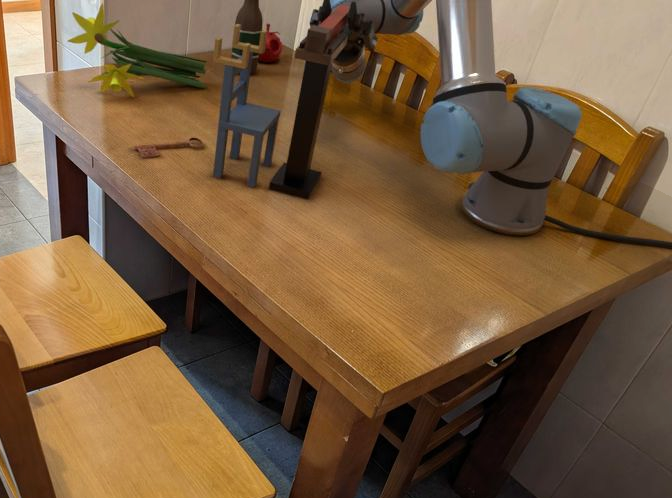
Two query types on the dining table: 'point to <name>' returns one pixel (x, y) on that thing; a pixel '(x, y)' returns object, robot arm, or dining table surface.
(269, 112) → the chair
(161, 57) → the daffodil flowers
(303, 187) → the stand
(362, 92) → the dining table surface
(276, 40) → the pomegranate
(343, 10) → the hanger bar
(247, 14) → the beer bottle
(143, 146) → the key
